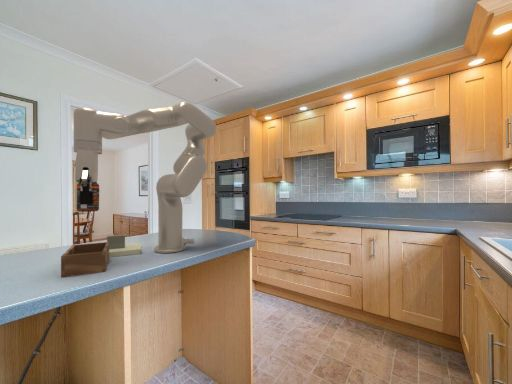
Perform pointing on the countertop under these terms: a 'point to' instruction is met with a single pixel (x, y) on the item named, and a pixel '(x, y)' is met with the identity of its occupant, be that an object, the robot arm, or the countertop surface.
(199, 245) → the countertop surface
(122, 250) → the lid
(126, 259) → the countertop surface
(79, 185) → the supplement bottle
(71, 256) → the box
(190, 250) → the countertop surface
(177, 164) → the robot arm
